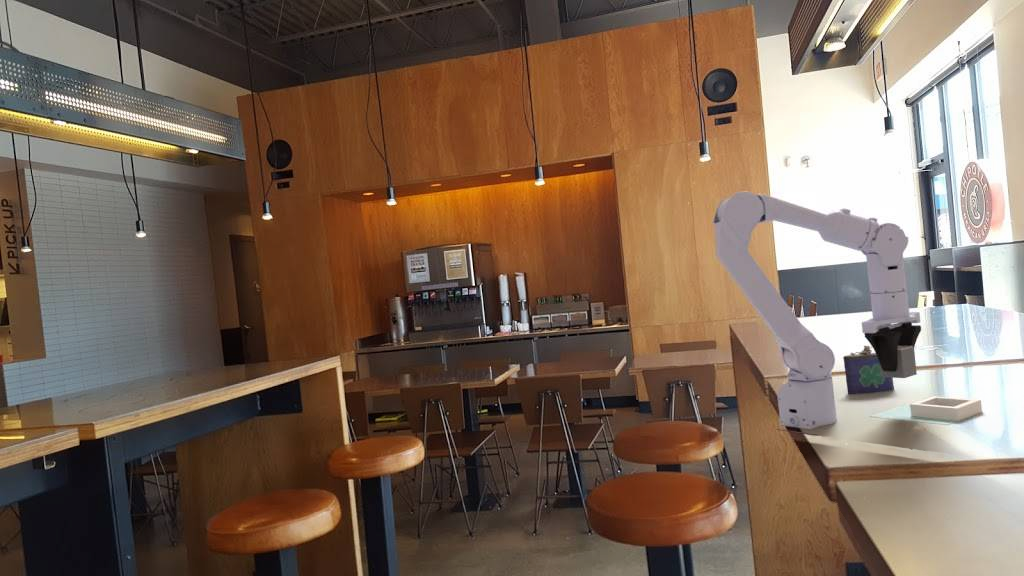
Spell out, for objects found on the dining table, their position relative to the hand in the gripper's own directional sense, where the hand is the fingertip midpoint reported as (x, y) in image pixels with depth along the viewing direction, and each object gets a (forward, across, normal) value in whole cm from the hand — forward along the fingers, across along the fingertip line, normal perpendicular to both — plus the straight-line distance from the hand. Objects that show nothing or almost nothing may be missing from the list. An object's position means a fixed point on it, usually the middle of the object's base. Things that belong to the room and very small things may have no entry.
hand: (897, 369), depth 121 cm
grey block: (+1, 0, 0) cm, 1 cm away
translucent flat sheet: (+9, 0, -4) cm, 10 cm away
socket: (+8, +2, -6) cm, 10 cm away
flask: (+9, +15, +15) cm, 23 cm away
